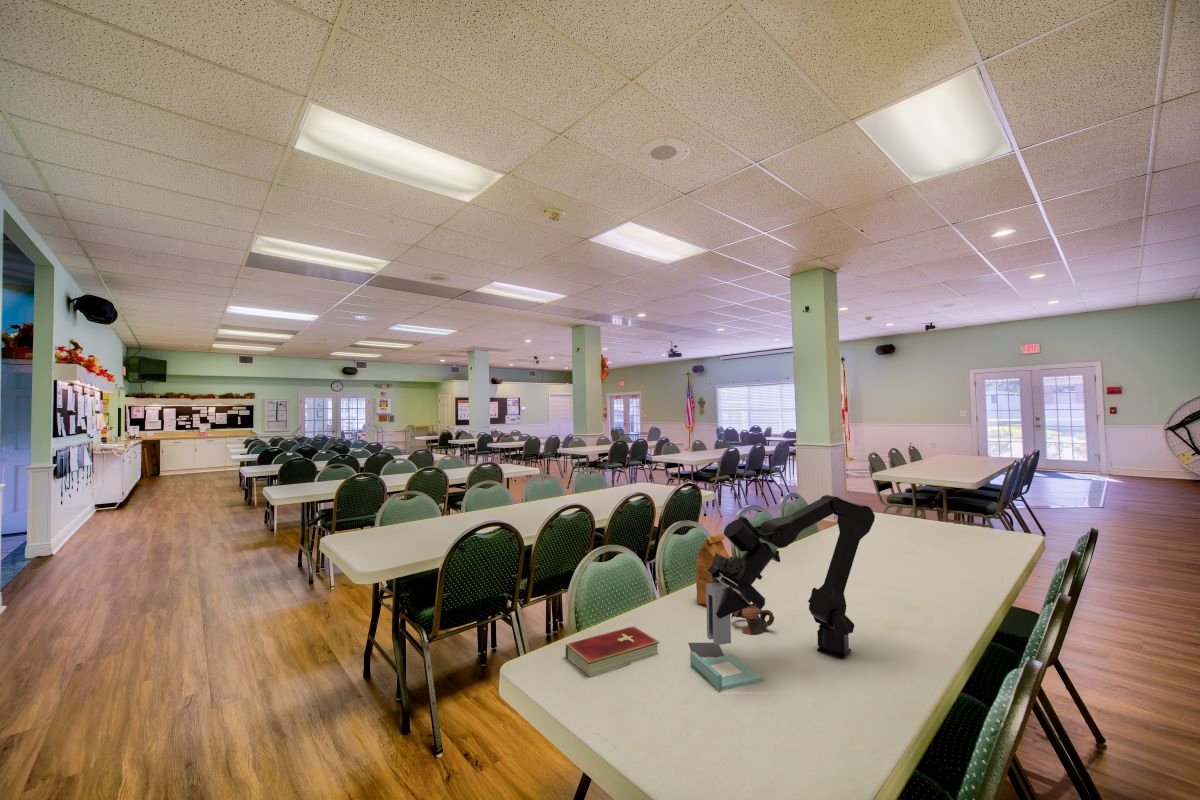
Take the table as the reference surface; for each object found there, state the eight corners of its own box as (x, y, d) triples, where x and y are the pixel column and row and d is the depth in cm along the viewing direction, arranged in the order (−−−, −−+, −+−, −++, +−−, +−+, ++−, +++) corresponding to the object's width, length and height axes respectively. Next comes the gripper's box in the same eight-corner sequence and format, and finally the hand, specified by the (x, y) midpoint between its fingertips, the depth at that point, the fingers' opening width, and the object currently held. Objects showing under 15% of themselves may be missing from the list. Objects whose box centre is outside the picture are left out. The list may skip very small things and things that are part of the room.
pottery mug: (733, 637, 138) (726, 605, 142) (739, 640, 145) (732, 610, 150) (776, 631, 134) (768, 599, 139) (780, 634, 142) (773, 604, 146)
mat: (717, 644, 132) (717, 642, 132) (724, 658, 124) (724, 656, 124) (688, 644, 132) (688, 642, 132) (693, 658, 124) (693, 656, 124)
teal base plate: (732, 658, 124) (731, 644, 124) (763, 682, 113) (762, 666, 113) (690, 667, 120) (690, 652, 120) (718, 692, 108) (718, 675, 109)
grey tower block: (721, 635, 122) (720, 582, 122) (731, 643, 118) (729, 588, 118) (707, 637, 121) (706, 583, 121) (715, 645, 116) (714, 589, 117)
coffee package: (738, 601, 163) (737, 534, 164) (718, 611, 155) (716, 541, 156) (713, 594, 171) (712, 530, 172) (692, 603, 162) (691, 536, 163)
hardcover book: (565, 659, 125) (565, 642, 126) (632, 639, 136) (632, 624, 136) (588, 679, 115) (588, 661, 115) (659, 657, 126) (659, 640, 126)
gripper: (713, 533, 130) (675, 580, 127) (752, 551, 112) (709, 605, 109) (740, 561, 132) (703, 607, 129) (783, 583, 114) (742, 637, 111)
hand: (713, 613), depth 119 cm, fingers closed on grey tower block, 4 cm apart
